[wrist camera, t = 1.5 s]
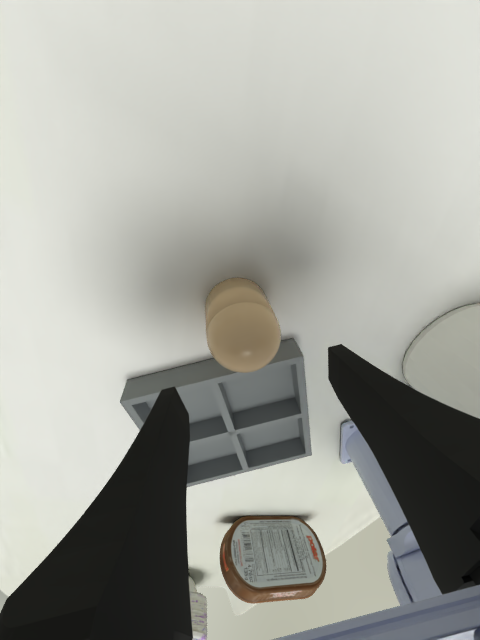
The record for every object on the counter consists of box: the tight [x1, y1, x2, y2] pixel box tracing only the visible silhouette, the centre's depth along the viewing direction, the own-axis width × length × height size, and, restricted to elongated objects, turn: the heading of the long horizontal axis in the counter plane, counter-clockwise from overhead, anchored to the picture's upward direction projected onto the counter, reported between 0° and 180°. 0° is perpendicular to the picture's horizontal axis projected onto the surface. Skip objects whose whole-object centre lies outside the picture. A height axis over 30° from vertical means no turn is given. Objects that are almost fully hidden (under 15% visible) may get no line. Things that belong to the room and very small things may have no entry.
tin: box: [220, 516, 326, 603], centre depth 34 cm, size 15×3×8 cm, turn 70°
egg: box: [205, 278, 281, 373], centre depth 15 cm, size 4×4×6 cm
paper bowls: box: [189, 576, 207, 640], centre depth 43 cm, size 15×15×8 cm
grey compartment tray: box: [120, 338, 312, 487], centre depth 23 cm, size 14×14×2 cm
